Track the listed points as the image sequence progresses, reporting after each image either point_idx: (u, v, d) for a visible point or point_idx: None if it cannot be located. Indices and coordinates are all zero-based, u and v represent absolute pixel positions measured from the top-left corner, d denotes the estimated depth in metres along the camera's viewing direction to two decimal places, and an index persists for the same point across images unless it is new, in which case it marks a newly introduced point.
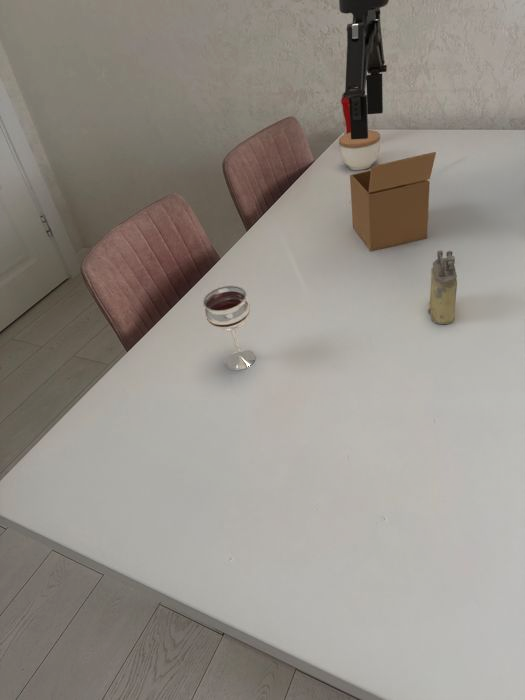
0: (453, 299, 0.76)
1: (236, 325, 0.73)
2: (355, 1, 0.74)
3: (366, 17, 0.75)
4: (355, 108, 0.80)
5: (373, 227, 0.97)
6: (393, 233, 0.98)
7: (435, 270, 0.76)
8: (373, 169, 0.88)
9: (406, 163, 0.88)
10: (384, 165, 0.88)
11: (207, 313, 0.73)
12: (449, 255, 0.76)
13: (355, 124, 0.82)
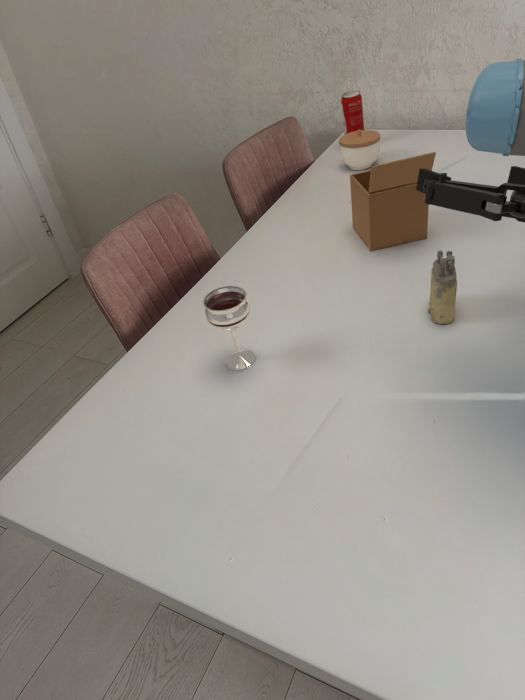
0: (453, 299, 0.76)
1: (236, 325, 0.73)
2: None
3: None
4: None
5: (373, 227, 0.97)
6: (393, 233, 0.98)
7: (435, 270, 0.76)
8: (373, 169, 0.88)
9: (406, 163, 0.88)
10: (384, 165, 0.88)
11: (207, 313, 0.73)
12: (449, 255, 0.76)
13: None
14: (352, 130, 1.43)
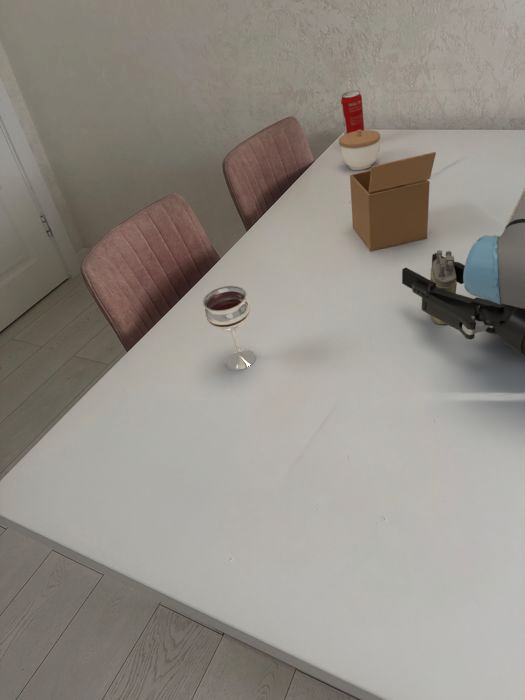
0: None
1: (236, 325, 0.73)
2: None
3: None
4: None
5: (373, 227, 0.97)
6: (393, 233, 0.98)
7: (434, 270, 0.76)
8: (373, 169, 0.88)
9: (406, 163, 0.88)
10: (384, 165, 0.88)
11: (207, 313, 0.73)
12: (448, 255, 0.76)
13: None
14: (352, 130, 1.43)
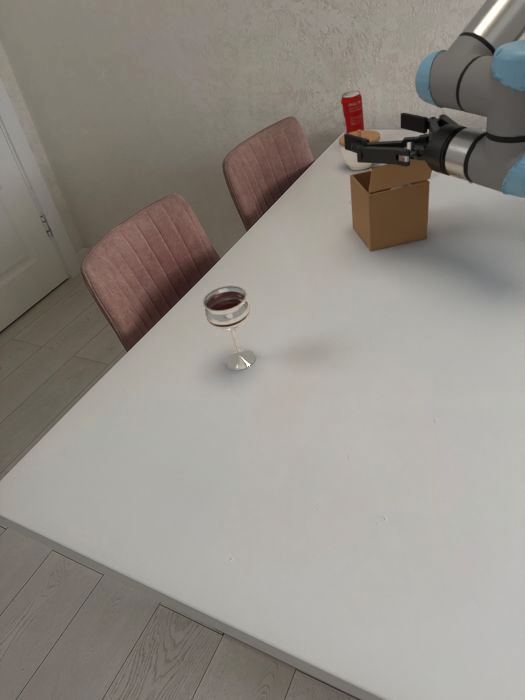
0: None
1: (236, 325, 0.73)
2: None
3: None
4: None
5: (373, 227, 0.97)
6: (393, 233, 0.98)
7: None
8: (373, 170, 0.88)
9: None
10: (385, 166, 0.87)
11: (207, 313, 0.73)
12: None
13: None
14: (352, 130, 1.43)
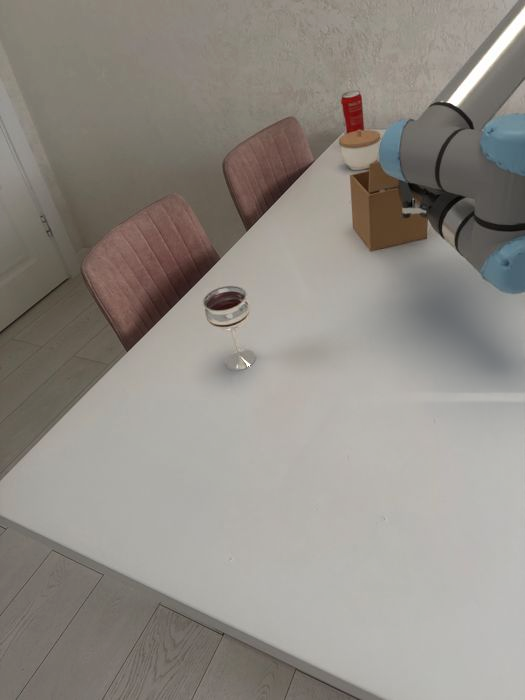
0: None
1: (236, 325, 0.73)
2: None
3: None
4: None
5: (373, 227, 0.97)
6: (393, 233, 0.98)
7: None
8: (371, 166, 0.88)
9: None
10: None
11: (207, 313, 0.73)
12: None
13: None
14: (352, 130, 1.43)
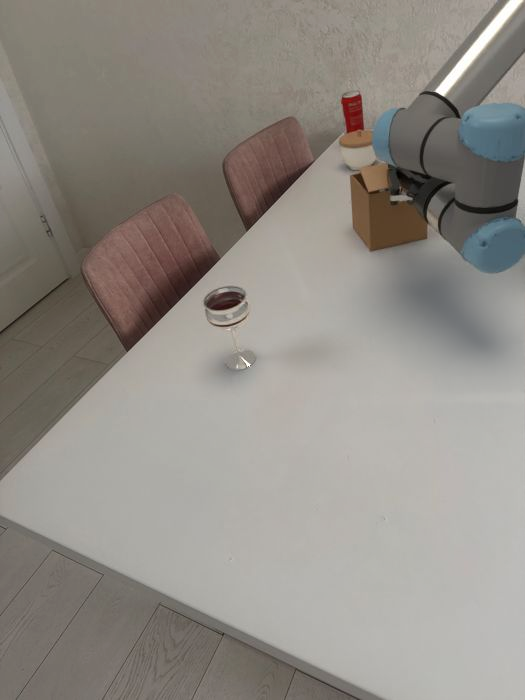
0: None
1: (236, 325, 0.73)
2: None
3: None
4: None
5: (373, 227, 0.97)
6: (393, 233, 0.98)
7: None
8: (362, 170, 0.94)
9: None
10: (371, 166, 0.95)
11: (207, 313, 0.73)
12: None
13: None
14: (352, 130, 1.43)
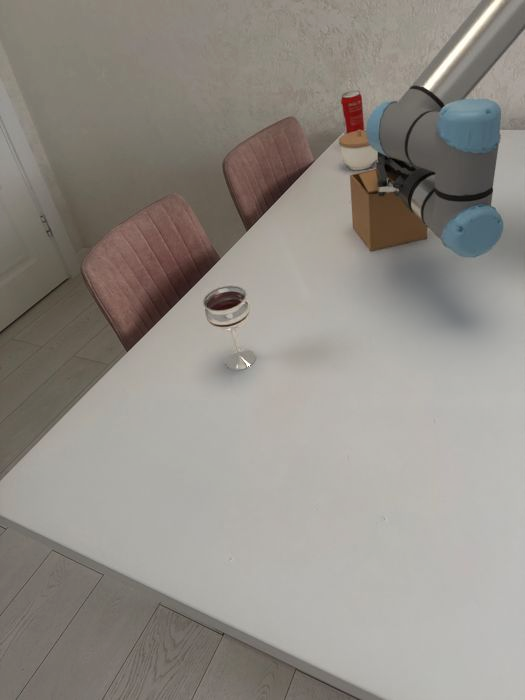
0: None
1: (236, 325, 0.73)
2: None
3: None
4: None
5: (373, 227, 0.97)
6: (393, 233, 0.98)
7: None
8: (361, 175, 0.95)
9: None
10: (371, 172, 0.96)
11: (207, 313, 0.73)
12: None
13: None
14: (352, 130, 1.43)
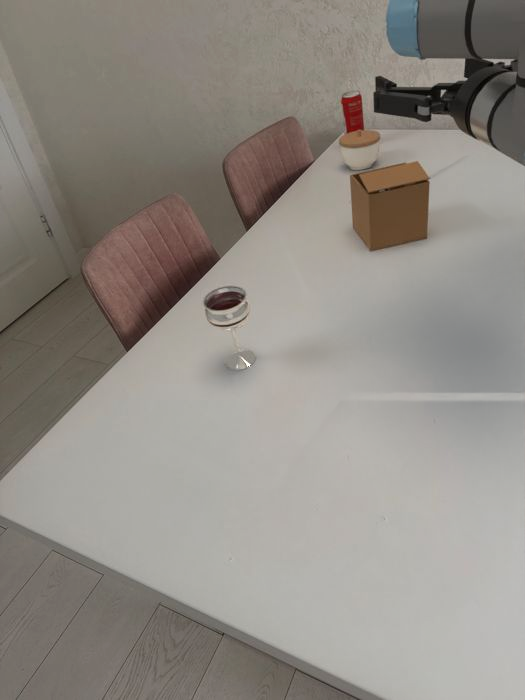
0: None
1: (236, 325, 0.73)
2: None
3: None
4: None
5: (373, 227, 0.97)
6: (393, 233, 0.98)
7: None
8: (361, 175, 0.95)
9: (392, 169, 0.95)
10: (371, 172, 0.96)
11: (207, 313, 0.73)
12: None
13: None
14: (352, 130, 1.43)
